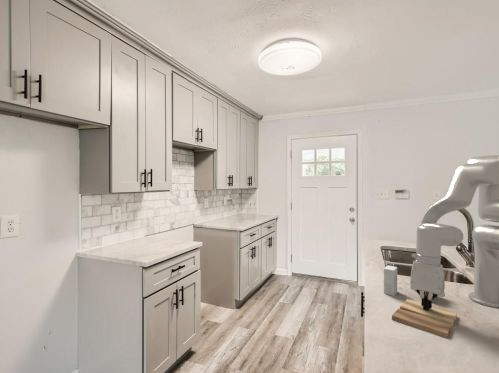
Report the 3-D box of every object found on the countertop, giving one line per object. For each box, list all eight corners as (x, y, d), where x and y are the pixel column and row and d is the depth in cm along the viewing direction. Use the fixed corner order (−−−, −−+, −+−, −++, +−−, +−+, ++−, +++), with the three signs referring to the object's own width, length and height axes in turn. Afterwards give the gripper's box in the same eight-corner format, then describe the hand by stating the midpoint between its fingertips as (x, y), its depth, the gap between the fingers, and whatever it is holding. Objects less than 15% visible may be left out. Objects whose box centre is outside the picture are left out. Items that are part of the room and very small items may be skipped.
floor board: (404, 303, 111) (404, 297, 111) (460, 319, 98) (460, 312, 98) (388, 322, 97) (388, 315, 97) (451, 343, 84) (451, 335, 84)
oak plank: (406, 302, 109) (407, 299, 109) (456, 317, 98) (456, 312, 98) (399, 310, 103) (399, 306, 103) (452, 326, 91) (452, 322, 91)
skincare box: (386, 291, 123) (387, 265, 123) (397, 294, 120) (397, 267, 120) (383, 295, 118) (383, 268, 118) (394, 298, 116) (394, 270, 115)
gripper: (402, 257, 103) (401, 305, 104) (451, 266, 93) (449, 320, 93) (408, 253, 109) (406, 299, 109) (454, 261, 98) (453, 312, 98)
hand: (426, 308), depth 101 cm, fingers closed
